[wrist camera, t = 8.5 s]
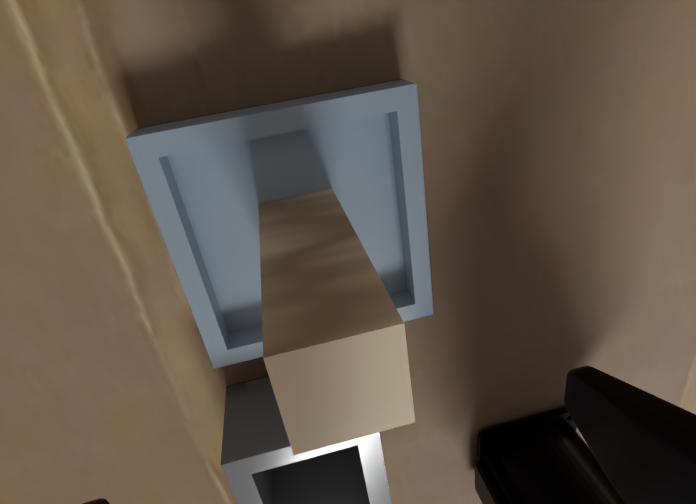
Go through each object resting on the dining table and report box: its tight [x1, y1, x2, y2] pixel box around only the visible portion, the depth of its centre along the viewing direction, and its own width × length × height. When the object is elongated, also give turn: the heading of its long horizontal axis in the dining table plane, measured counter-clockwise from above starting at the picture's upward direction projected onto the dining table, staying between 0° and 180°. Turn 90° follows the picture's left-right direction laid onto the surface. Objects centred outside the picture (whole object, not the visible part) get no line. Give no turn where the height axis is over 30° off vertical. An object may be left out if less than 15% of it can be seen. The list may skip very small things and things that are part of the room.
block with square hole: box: [221, 376, 391, 504], centre depth 21 cm, size 7×7×4 cm
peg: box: [258, 188, 415, 455], centre depth 14 cm, size 3×3×10 cm
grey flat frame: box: [125, 80, 433, 369], centre depth 18 cm, size 10×10×2 cm
